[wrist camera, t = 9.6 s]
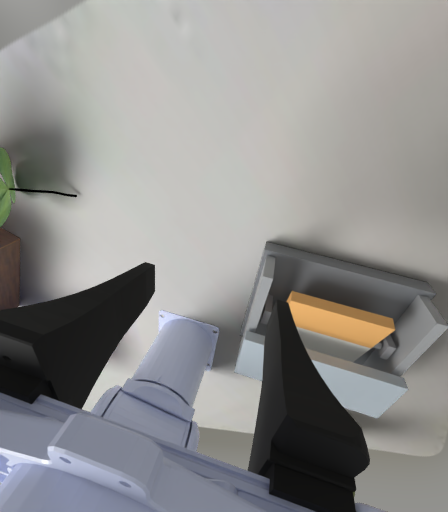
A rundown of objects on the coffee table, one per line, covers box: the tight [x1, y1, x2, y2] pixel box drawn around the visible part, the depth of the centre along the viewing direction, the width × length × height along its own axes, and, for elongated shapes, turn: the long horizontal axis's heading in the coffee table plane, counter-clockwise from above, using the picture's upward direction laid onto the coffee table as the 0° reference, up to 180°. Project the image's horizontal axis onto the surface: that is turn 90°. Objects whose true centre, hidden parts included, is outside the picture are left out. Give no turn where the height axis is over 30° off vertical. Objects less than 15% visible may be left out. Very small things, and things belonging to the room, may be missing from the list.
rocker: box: [287, 291, 395, 362], centre depth 22 cm, size 7×10×1 cm
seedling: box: [0, 148, 77, 227], centre depth 24 cm, size 7×8×7 cm
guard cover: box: [234, 330, 408, 418], centre depth 22 cm, size 5×13×1 cm, turn 81°
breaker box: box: [235, 242, 448, 376], centre depth 23 cm, size 12×14×5 cm
